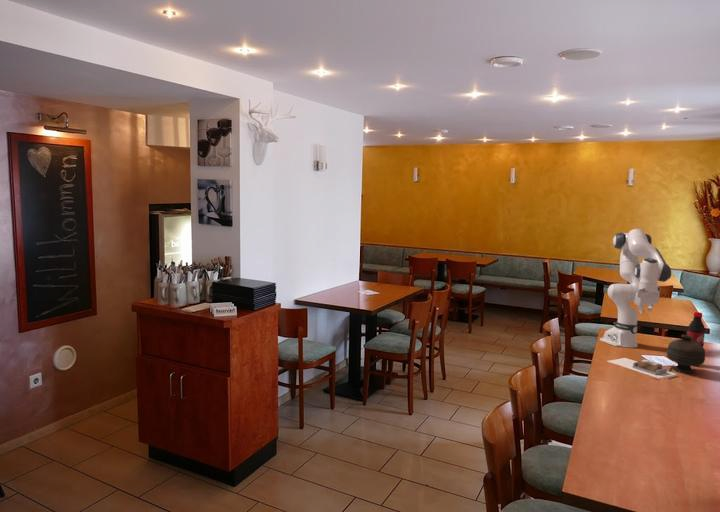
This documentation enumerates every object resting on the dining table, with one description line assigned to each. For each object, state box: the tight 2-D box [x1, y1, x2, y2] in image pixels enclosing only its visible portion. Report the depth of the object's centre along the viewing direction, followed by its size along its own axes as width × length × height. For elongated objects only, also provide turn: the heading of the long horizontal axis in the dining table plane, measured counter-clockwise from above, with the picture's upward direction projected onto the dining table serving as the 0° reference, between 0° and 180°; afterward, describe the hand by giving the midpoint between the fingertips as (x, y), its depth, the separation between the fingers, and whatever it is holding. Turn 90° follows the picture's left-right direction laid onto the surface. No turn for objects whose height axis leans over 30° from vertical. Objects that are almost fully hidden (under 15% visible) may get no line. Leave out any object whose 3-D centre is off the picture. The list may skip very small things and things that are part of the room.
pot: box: [666, 334, 706, 375], centre depth 286 cm, size 18×18×20 cm
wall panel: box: [607, 357, 678, 381], centre depth 286 cm, size 30×16×4 cm, turn 28°
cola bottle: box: [686, 311, 706, 367], centre depth 298 cm, size 8×8×30 cm
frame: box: [637, 359, 663, 373], centre depth 282 cm, size 10×6×4 cm, turn 36°
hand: (645, 312), depth 296 cm, fingers open, 8 cm apart
